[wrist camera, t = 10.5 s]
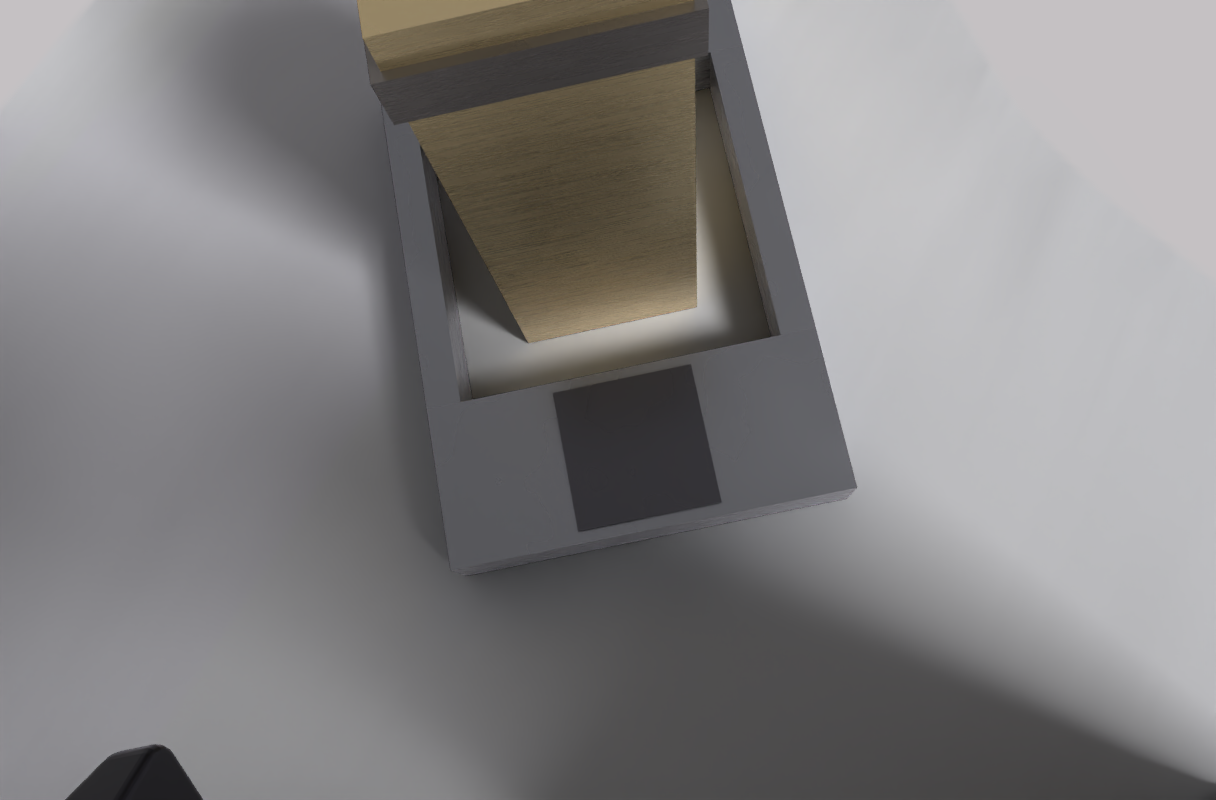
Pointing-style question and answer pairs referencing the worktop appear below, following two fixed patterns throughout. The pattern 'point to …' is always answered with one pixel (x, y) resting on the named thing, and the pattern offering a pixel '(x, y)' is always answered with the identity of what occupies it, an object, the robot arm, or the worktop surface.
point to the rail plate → (628, 388)
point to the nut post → (556, 143)
